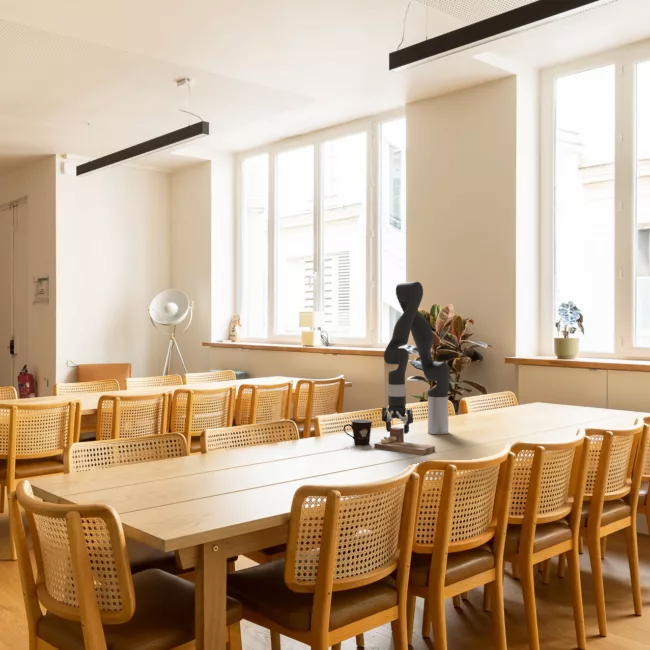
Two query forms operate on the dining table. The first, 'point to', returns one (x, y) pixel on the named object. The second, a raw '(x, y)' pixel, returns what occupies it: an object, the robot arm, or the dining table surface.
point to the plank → (405, 447)
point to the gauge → (394, 435)
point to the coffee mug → (360, 431)
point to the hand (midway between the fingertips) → (397, 432)
